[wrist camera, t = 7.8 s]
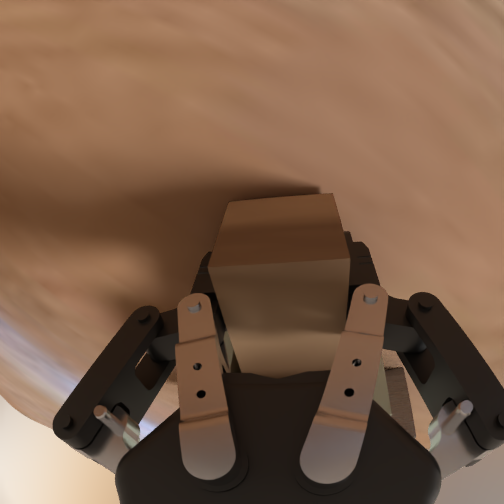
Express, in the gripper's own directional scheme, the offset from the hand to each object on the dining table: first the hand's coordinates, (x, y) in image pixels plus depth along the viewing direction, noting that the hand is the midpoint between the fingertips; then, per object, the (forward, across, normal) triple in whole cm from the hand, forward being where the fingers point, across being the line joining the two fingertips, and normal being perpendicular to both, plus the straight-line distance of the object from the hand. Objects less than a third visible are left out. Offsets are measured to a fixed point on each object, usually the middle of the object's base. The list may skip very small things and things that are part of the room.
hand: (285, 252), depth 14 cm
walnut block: (+1, 0, +3) cm, 3 cm away
